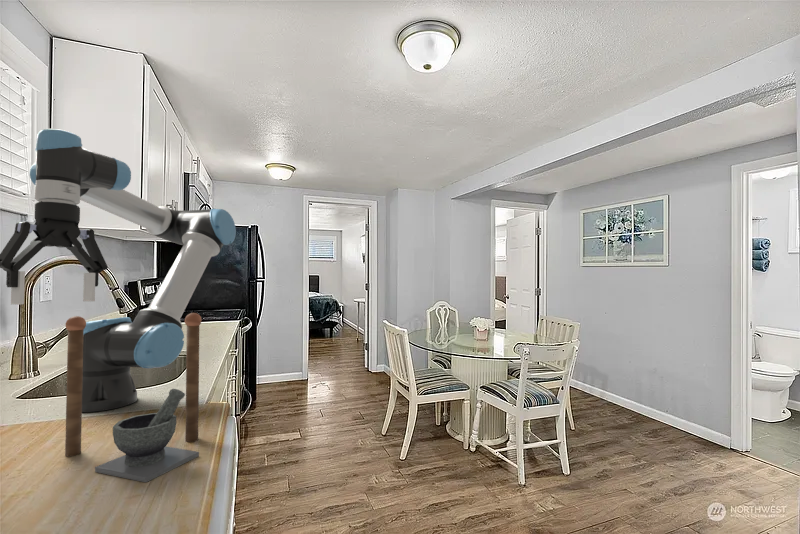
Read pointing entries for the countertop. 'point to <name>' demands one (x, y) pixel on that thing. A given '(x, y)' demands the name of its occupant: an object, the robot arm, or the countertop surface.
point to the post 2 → (192, 376)
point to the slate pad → (148, 472)
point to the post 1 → (74, 385)
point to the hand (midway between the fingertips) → (55, 303)
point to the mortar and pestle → (147, 433)
